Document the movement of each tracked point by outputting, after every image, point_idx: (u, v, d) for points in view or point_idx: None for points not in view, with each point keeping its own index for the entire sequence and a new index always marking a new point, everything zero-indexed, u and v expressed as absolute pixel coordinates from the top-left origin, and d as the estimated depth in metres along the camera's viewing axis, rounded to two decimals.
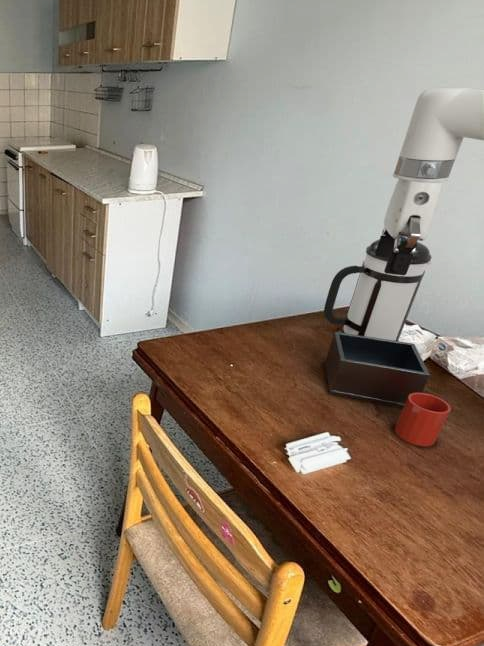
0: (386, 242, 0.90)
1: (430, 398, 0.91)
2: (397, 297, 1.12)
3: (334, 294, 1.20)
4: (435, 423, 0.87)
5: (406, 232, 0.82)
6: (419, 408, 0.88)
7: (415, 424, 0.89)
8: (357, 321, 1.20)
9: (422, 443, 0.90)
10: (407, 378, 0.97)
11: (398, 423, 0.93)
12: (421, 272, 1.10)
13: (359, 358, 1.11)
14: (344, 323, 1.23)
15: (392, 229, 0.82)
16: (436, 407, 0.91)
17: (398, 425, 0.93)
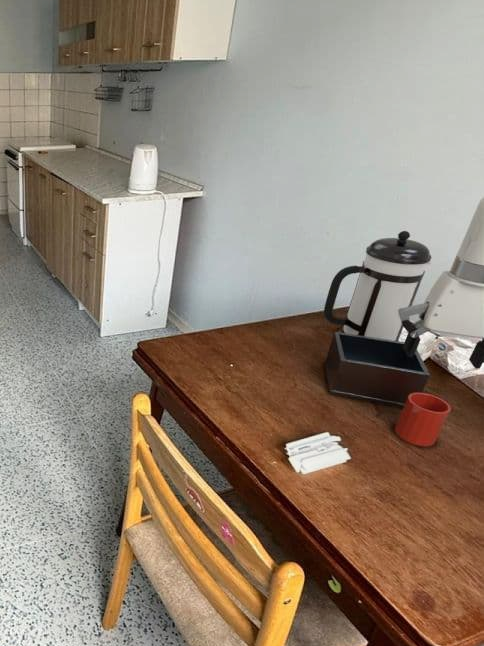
0: None
1: (430, 398, 0.91)
2: (397, 297, 1.12)
3: (334, 294, 1.20)
4: (435, 423, 0.87)
5: None
6: (419, 408, 0.88)
7: (415, 424, 0.89)
8: (357, 321, 1.20)
9: (422, 443, 0.90)
10: (407, 378, 0.97)
11: (398, 423, 0.93)
12: (421, 272, 1.10)
13: (359, 358, 1.11)
14: (344, 323, 1.23)
15: None
16: (436, 407, 0.91)
17: (398, 425, 0.93)
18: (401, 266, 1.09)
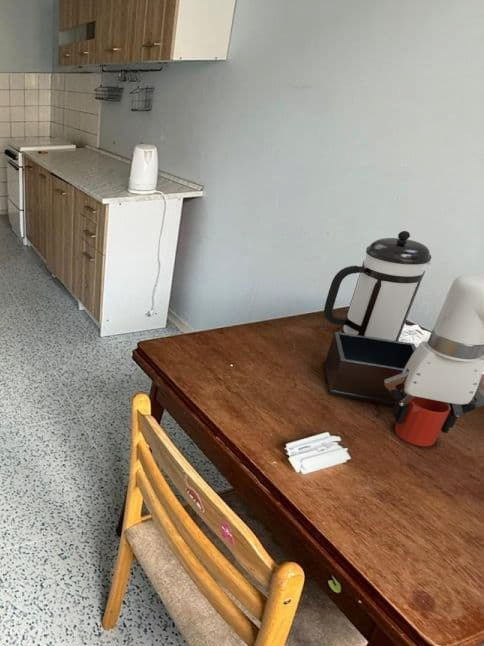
0: None
1: None
2: (397, 297, 1.12)
3: (334, 294, 1.20)
4: (435, 423, 0.87)
5: None
6: (419, 408, 0.88)
7: (415, 424, 0.89)
8: (357, 321, 1.20)
9: (422, 443, 0.90)
10: None
11: (398, 423, 0.93)
12: (421, 272, 1.10)
13: (359, 358, 1.11)
14: (344, 323, 1.23)
15: (461, 399, 0.85)
16: (436, 407, 0.91)
17: (398, 425, 0.93)
18: (401, 266, 1.09)
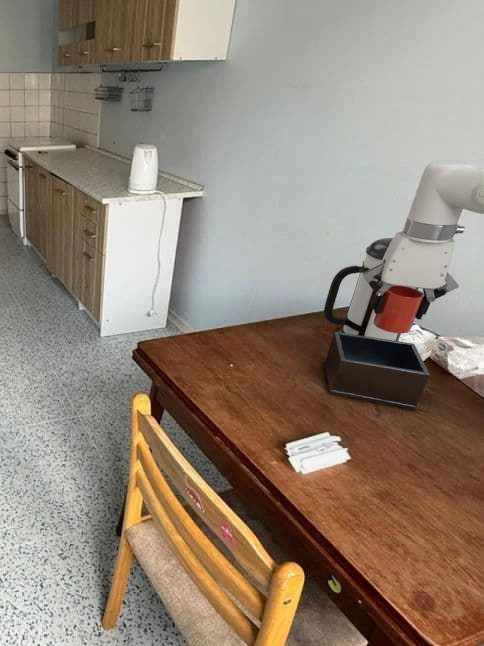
0: None
1: (406, 289, 0.98)
2: None
3: (334, 294, 1.20)
4: (409, 309, 0.94)
5: None
6: (395, 295, 0.94)
7: (392, 311, 0.96)
8: (357, 321, 1.20)
9: (398, 330, 0.96)
10: (407, 378, 0.97)
11: (376, 315, 0.99)
12: None
13: (359, 358, 1.11)
14: (344, 323, 1.23)
15: (433, 283, 0.91)
16: None
17: (376, 317, 0.99)
18: None
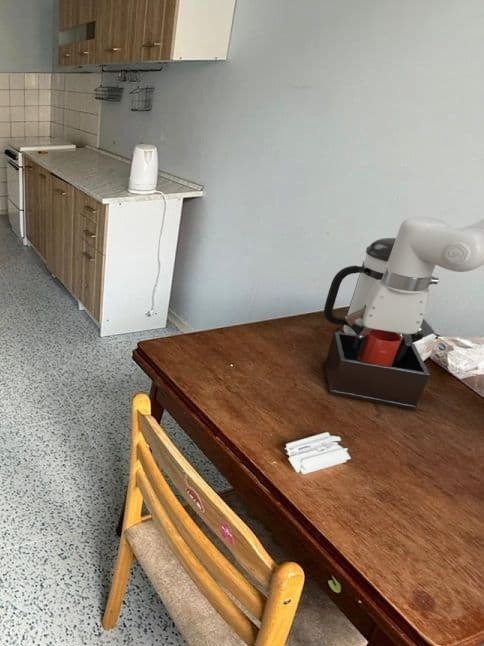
0: None
1: (386, 332, 1.04)
2: None
3: (334, 294, 1.20)
4: (388, 351, 1.00)
5: None
6: (375, 339, 1.00)
7: (372, 353, 1.02)
8: (357, 321, 1.20)
9: None
10: (407, 378, 0.97)
11: (358, 355, 1.06)
12: None
13: None
14: (344, 323, 1.23)
15: (410, 329, 0.97)
16: (391, 340, 1.03)
17: (358, 357, 1.05)
18: None
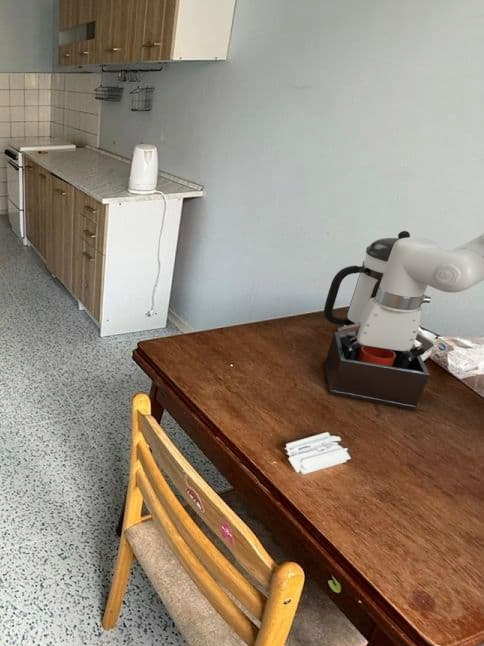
0: None
1: (380, 348, 1.06)
2: None
3: (334, 294, 1.20)
4: None
5: None
6: (369, 355, 1.02)
7: None
8: (357, 321, 1.20)
9: None
10: (407, 378, 0.97)
11: None
12: None
13: None
14: (344, 323, 1.23)
15: (403, 346, 0.99)
16: (385, 356, 1.05)
17: None
18: None
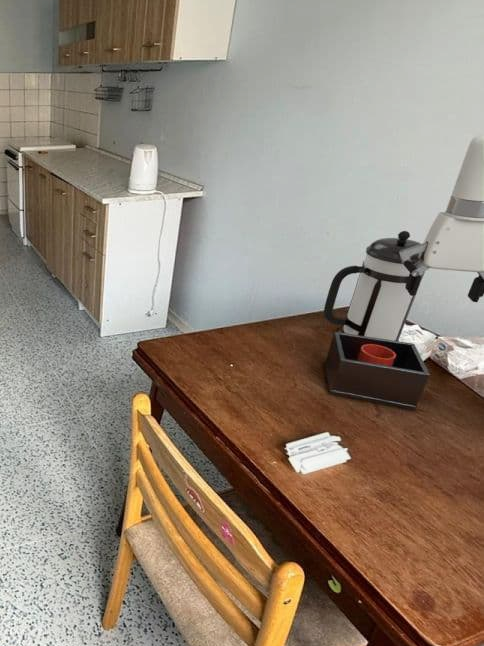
0: None
1: (380, 348, 1.06)
2: (397, 297, 1.12)
3: (334, 294, 1.20)
4: None
5: None
6: (369, 355, 1.02)
7: None
8: (357, 321, 1.20)
9: None
10: (407, 378, 0.97)
11: None
12: None
13: None
14: (344, 323, 1.23)
15: (481, 265, 0.85)
16: (385, 356, 1.05)
17: None
18: (401, 266, 1.09)
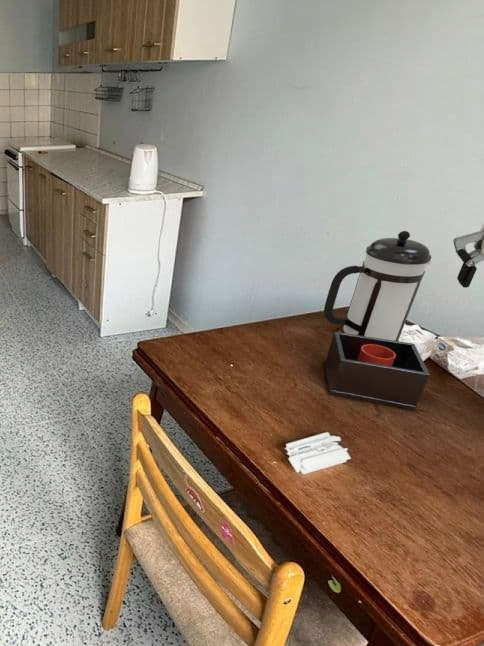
0: None
1: (380, 348, 1.06)
2: (397, 297, 1.12)
3: (334, 294, 1.20)
4: None
5: None
6: (369, 355, 1.02)
7: None
8: (357, 321, 1.20)
9: None
10: (407, 378, 0.97)
11: None
12: (421, 272, 1.10)
13: None
14: (344, 323, 1.23)
15: None
16: (385, 356, 1.05)
17: None
18: (401, 266, 1.09)
